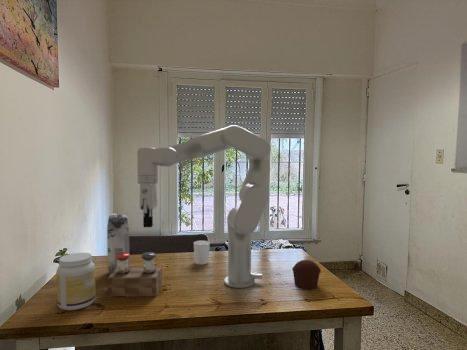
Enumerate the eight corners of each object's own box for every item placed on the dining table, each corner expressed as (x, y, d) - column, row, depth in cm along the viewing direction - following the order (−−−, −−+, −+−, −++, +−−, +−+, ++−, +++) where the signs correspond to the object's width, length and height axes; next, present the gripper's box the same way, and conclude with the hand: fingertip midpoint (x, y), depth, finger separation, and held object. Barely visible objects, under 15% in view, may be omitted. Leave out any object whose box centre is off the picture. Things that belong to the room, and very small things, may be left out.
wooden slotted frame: (117, 284, 133) (117, 267, 132) (161, 283, 133) (161, 266, 133) (107, 296, 121) (107, 278, 120) (156, 296, 121) (156, 277, 121)
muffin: (311, 293, 124) (311, 268, 123) (286, 286, 131) (286, 261, 131) (325, 284, 133) (326, 260, 132) (301, 277, 140) (302, 255, 140)
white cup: (209, 265, 156) (209, 244, 155) (192, 265, 156) (192, 244, 156) (210, 260, 164) (210, 240, 163) (194, 259, 164) (194, 240, 163)
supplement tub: (102, 297, 120) (101, 253, 119) (80, 313, 108) (78, 263, 107) (74, 294, 123) (73, 250, 122) (49, 309, 111) (47, 260, 110)
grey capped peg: (156, 276, 130) (156, 252, 129) (154, 281, 124) (154, 256, 124) (143, 276, 129) (143, 252, 129) (140, 281, 124) (140, 256, 124)
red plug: (131, 276, 129) (131, 252, 129) (127, 282, 124) (127, 256, 123) (118, 277, 129) (117, 252, 128) (114, 282, 124) (113, 256, 123)
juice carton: (129, 268, 151) (128, 211, 149) (129, 276, 141) (128, 215, 139) (109, 270, 148) (107, 212, 146) (107, 279, 138) (106, 216, 136)
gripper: (153, 181, 117) (154, 231, 118) (160, 178, 132) (161, 222, 133) (132, 181, 117) (133, 231, 118) (142, 178, 132) (142, 222, 133)
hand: (148, 226), depth 126 cm, fingers closed
